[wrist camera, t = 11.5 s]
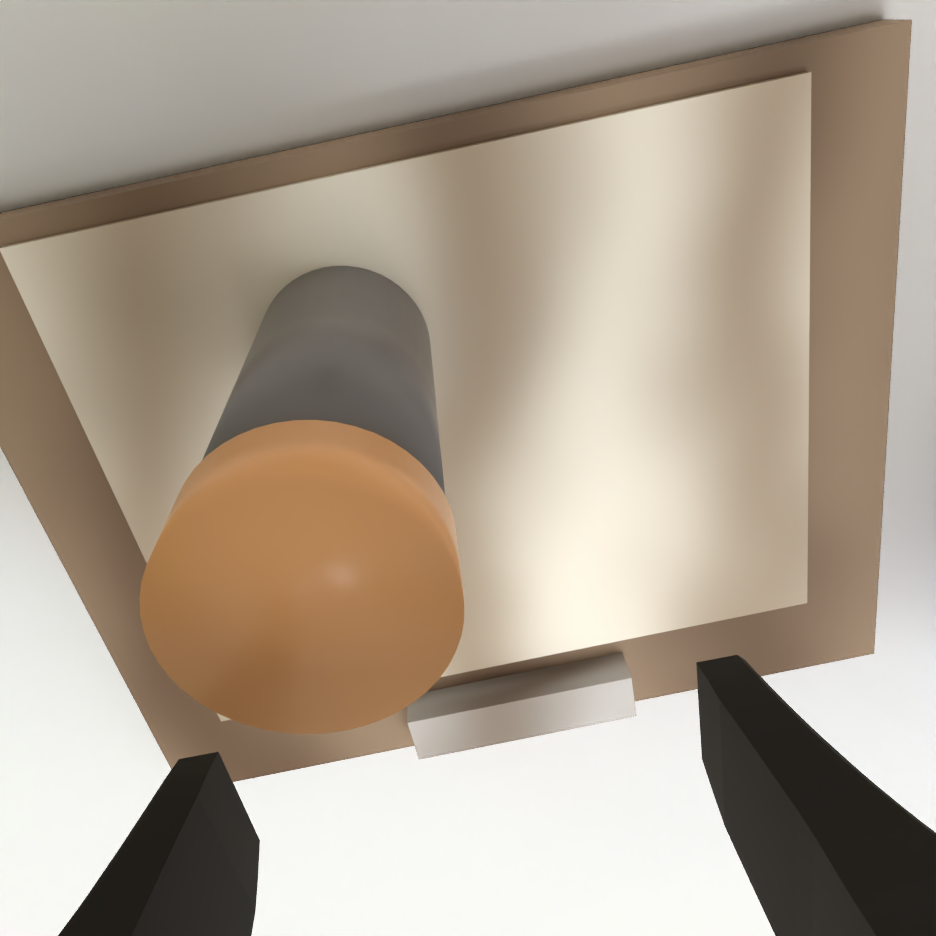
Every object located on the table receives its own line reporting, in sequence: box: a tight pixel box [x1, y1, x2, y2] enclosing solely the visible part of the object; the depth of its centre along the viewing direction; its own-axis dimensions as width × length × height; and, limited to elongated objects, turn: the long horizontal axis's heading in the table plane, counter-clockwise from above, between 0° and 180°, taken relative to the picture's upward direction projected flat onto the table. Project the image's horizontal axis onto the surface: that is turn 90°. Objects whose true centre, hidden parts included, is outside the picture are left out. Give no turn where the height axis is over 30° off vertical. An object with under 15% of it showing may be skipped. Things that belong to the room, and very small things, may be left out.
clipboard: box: [0, 19, 912, 782], centre depth 20 cm, size 20×16×2 cm
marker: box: [139, 266, 464, 734], centre depth 14 cm, size 4×4×9 cm
